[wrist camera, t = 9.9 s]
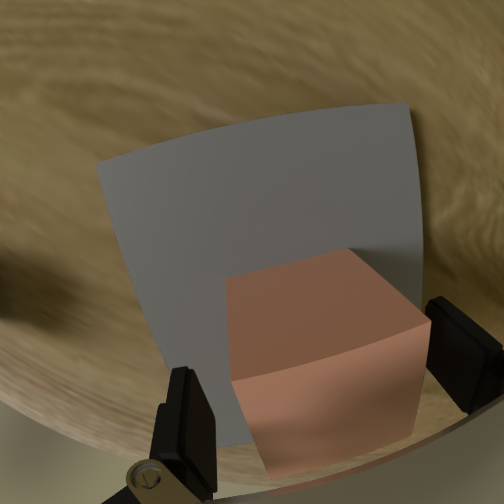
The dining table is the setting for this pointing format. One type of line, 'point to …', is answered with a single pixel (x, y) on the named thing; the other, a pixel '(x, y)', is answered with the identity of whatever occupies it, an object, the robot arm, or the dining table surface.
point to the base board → (260, 222)
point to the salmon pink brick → (324, 360)
